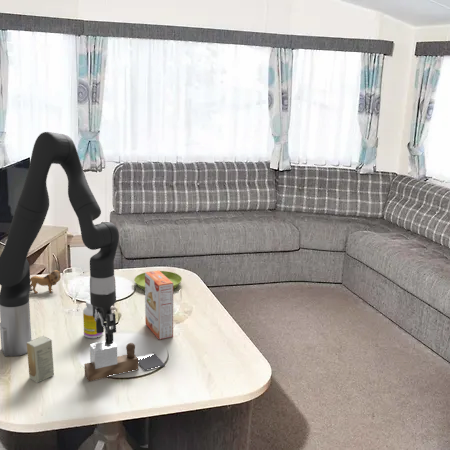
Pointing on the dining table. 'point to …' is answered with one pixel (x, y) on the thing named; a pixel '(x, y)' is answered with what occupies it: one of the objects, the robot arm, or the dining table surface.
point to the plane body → (123, 365)
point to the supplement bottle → (89, 322)
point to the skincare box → (40, 359)
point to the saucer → (170, 275)
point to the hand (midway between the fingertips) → (104, 338)
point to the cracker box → (159, 304)
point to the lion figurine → (45, 280)
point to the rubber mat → (151, 362)
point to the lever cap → (103, 354)
